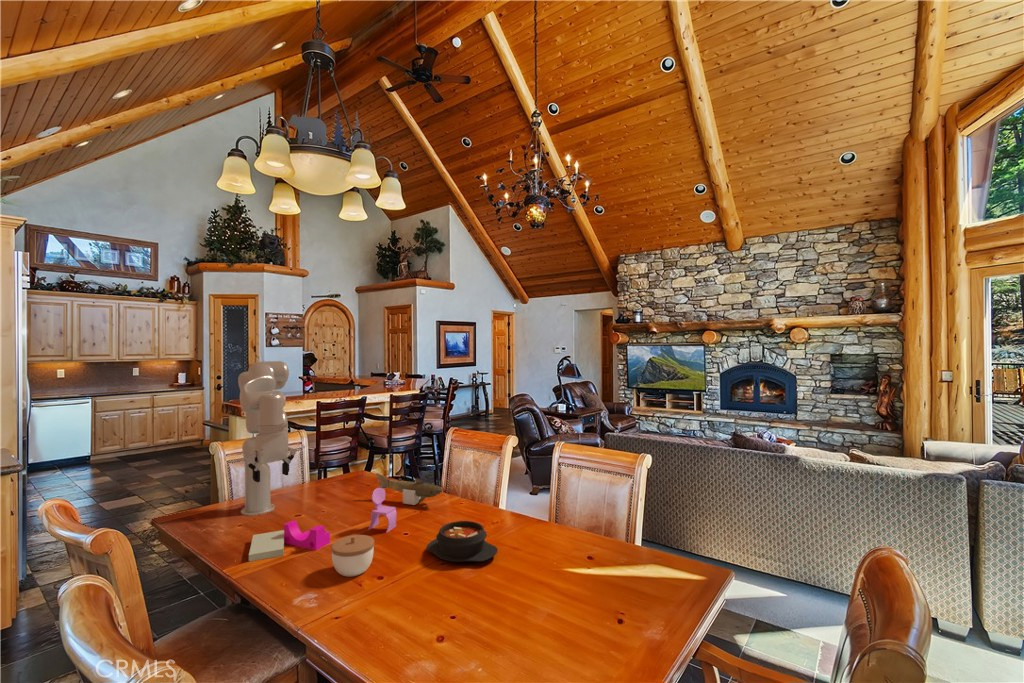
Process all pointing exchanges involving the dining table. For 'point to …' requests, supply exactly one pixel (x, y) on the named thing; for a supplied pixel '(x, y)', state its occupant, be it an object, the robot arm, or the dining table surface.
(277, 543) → the base slab
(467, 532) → the casserole
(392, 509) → the toy chair
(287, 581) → the dining table surface
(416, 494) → the wood carving
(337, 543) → the lidded bowl
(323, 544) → the toy block
